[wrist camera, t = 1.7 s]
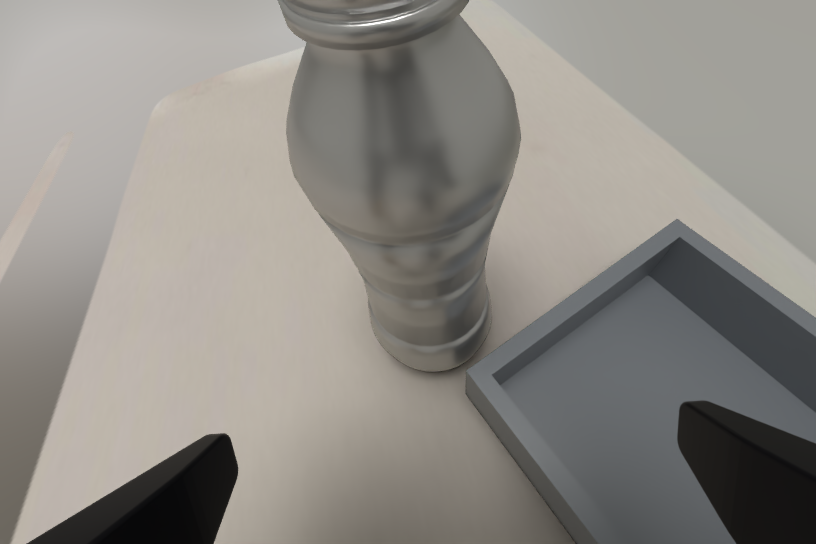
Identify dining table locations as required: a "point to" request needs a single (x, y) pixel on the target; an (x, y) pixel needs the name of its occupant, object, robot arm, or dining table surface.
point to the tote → (645, 387)
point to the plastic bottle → (405, 162)
